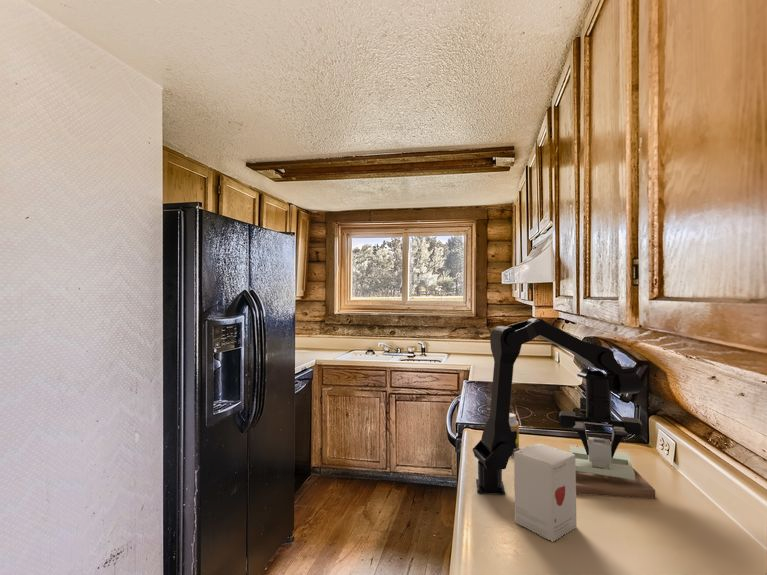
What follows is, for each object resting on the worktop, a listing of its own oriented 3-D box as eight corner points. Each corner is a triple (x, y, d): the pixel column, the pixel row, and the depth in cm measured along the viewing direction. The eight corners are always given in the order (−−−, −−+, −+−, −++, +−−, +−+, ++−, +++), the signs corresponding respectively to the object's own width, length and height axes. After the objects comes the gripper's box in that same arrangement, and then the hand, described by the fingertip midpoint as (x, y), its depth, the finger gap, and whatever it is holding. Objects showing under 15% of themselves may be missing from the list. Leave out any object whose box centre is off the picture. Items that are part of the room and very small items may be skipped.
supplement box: (553, 544, 79) (551, 465, 79) (513, 523, 86) (512, 451, 86) (578, 527, 84) (576, 453, 84) (539, 509, 92) (537, 441, 92)
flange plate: (628, 457, 109) (627, 436, 109) (635, 479, 96) (634, 455, 96) (570, 450, 115) (569, 429, 115) (569, 469, 102) (568, 446, 102)
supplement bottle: (501, 450, 126) (500, 417, 126) (499, 444, 131) (498, 411, 131) (520, 451, 125) (520, 417, 125) (517, 444, 130) (516, 412, 130)
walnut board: (655, 498, 95) (654, 468, 95) (572, 493, 98) (571, 463, 98) (624, 466, 113) (623, 440, 113) (554, 462, 116) (554, 437, 116)
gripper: (636, 391, 109) (638, 450, 109) (559, 385, 117) (561, 440, 117) (642, 401, 99) (644, 466, 99) (558, 394, 107) (559, 454, 107)
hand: (599, 456), depth 106 cm, fingers closed on flange plate, 5 cm apart
